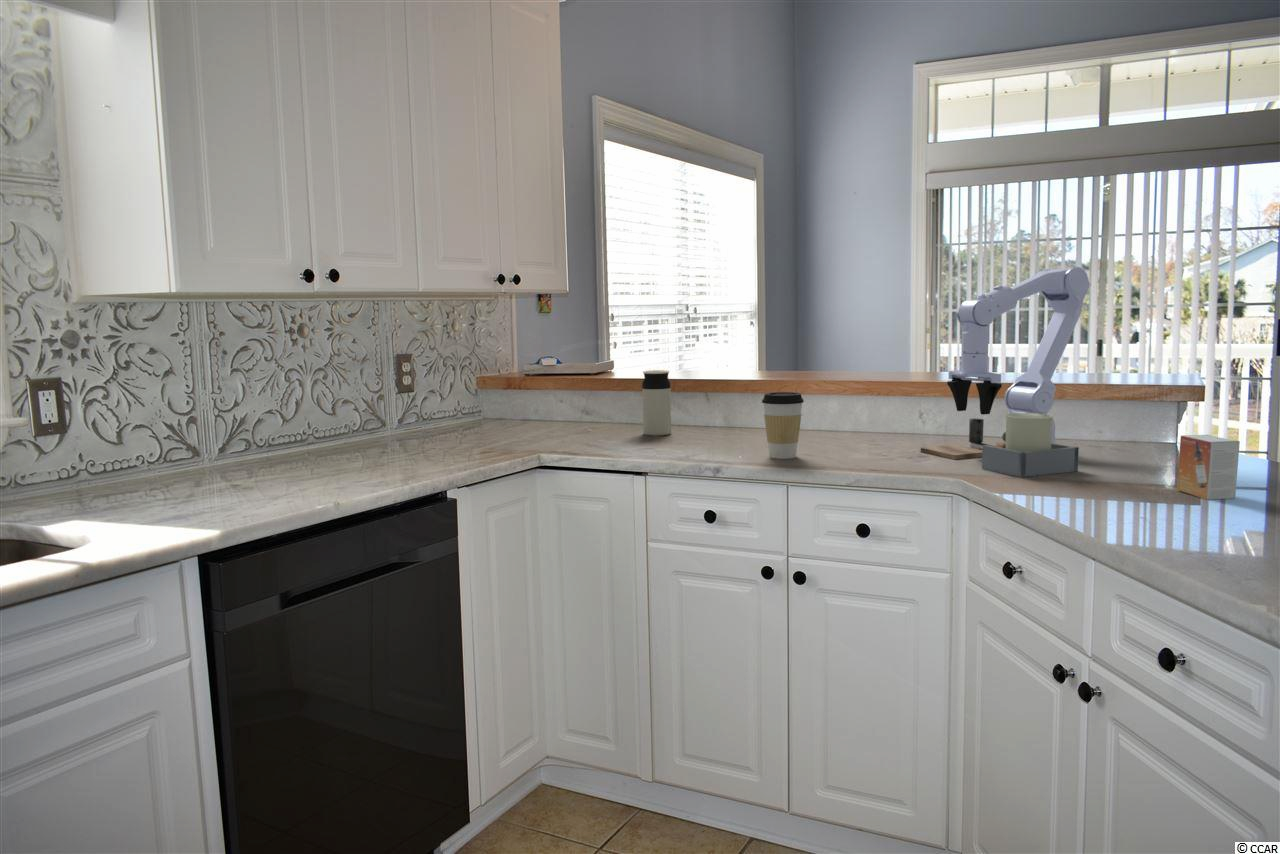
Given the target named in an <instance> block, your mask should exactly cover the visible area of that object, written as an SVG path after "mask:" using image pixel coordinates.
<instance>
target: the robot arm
mask: <svg viewBox="0 0 1280 854" xmlns="http://www.w3.org/2000/svg"><path fill="white" fill-rule="evenodd" d="M1090 286H1091V282H1090V280H1089V276H1088V273H1087V272H1086V270H1085V269H1084V268H1082V267H1080V266H1075V267H1074V266H1073V267H1067V268H1046V269H1044V270H1041V271H1038V272H1037V273H1035V275H1034V274H1033V275H1032V276H1031V277H1028V278H1027V279H1025V280H1023V281H1021V282H1019V283H1018V284H1015V285H1014V286H1012V287H1010V286H1008V285H1002V284H999V285H996V286H994V287H993V290H991V291H989V292H987V293H981V294H978V295H977V297H976V299H967V300H965V301H963V302H962V303H961V305H960V306H959V307H958V311H957V312H955V313H956V314H955V315H956V318H957V319H956V320H957V321H958V323H959V326H960V328H959V329H960V331H961V348H960V349H961V351H960V352H961V353H960V355H961V356H960V360H961V361H960V370H957V369H955V370H954V369H952V370H948V380H947V381H946V382H947V383H946V385H948V388H949V389H950V391H951V394H952V397H953V400H954V403H955V407H956V411H957V412H962V411H963V412H965V411H967V407H968V395H969V391H970V388H971V385H972V382H977V383H975V386H976V389H977V392H978V397H979V398H978V399H979V412H980V415H990V413H991V410H992V408H993V404H994V401H995V399H996V396H997V394H998V393H999V391H1000V390H1001V389H1002V386H1003V385H1002V373H995V372H989V368H988V367H989V339H990V338H989V337H990V335H989V334H990V333H989V332H990V325H991V324H992V323H993V322H994V320H995V319H996V318H997V317H999V316H1001V315H1003V314H1006V313H1007V312H1010V311H1012V310H1013V309H1015V308H1016V306H1017V305H1018V302H1019V301H1020V300H1023V299H1026V298H1028V297H1030V296H1032V295H1035V294H1038V293H1041V295H1042V296H1043V298H1044V299H1045V301H1046V302H1047V304H1048V305H1049V307H1051V308H1052V310H1053V314H1052V316H1051V319H1050V321H1049V323H1048V325H1047V327H1046V329H1045V331H1044V333H1043V336H1042V337H1041V341H1040V342H1039V344H1038V347H1037V349H1036V351H1035V353H1034V355H1033V357H1032V360H1031V362H1030V364H1029V366H1028V369H1027V370H1026V371H1025V372H1023V373H1022V374H1021V375H1019V376H1018V377H1016V378H1015V380H1014V382H1013V383H1012V385H1010V387H1008V388H1007V390H1006V391H1005V394H1004V404H1005V406H1006V408H1007V409H1009V414H1014V413H1036V414H1038V413H1039V414H1047V415H1049V414H1048V413H1049V412H1050V411H1051V409H1052V408H1053V404H1054V396H1055V393H1056V392H1057V387H1056V386H1055V384H1054V383H1053V381H1052V377H1053V376H1054V374H1055V371H1056V369H1057V367H1058V365H1059V363H1060V360H1061V359H1062V356H1063V353H1064V352H1065V349H1066V347H1067V345H1068V343H1069V340H1070V339H1071V336H1072V334H1073V332H1074V330H1075V327H1076V325H1077V323H1078V321H1079V319H1080V317H1081V314H1082V311H1083V306H1084V305H1083V304H1084V299H1085V297H1086V295H1087V294H1088V290H1089V288H1090ZM1055 441H1056V422H1055V419H1053V420H1052V436H1051V443H1055Z"/></svg>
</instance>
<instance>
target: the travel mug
mask: <svg viewBox="0 0 1280 854" xmlns="http://www.w3.org/2000/svg"><path fill="white" fill-rule="evenodd" d="M669 373H670V370H665V369H663V370H662V369H657V370H656V369H654V370H653V369H651V370H649V369H648V370H644V371H643V372H642V374H643V377H644V379H643V381H642V383H641V386H642V387H641V388H642V424H643V425H642V427H643V428H642V432H643V434H644V435H646V436H653V437H658V436H659V437H660V436H661V437H663V436H668V435H670V434H672V401H671V399H672V397H671V396H672V395H671V394H672V393H671V391H672V390H671V381H670V379H669Z"/></svg>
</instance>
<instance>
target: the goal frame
mask: <svg viewBox="0 0 1280 854" xmlns="http://www.w3.org/2000/svg"><path fill="white" fill-rule="evenodd" d="M1079 448H1080V447H1078V446H1073V445H1072V446H1071V445H1067V444H1062V443H1061V444H1060V443H1051V449H1049V450H1039V451H1029V452H1020V451H1015V450H1010V449H1004V448H999V447H994V446H988V445H983V449H982V457H981V458H982V459H981V460H982V461H981V469H982V468H983V470H987V469H988V471H991V470H992V472H996V473H999V474H1000V473H1001V474H1004V473H1005V475H1010V476H1013V475H1014V476H1015V477H1019V478H1026V477H1027V476H1029V477H1037V475H1038V476H1046V475H1054V474H1061V473H1062V474H1064V473H1071V472H1078V471H1079V470H1078V469H1079V454H1080V453H1079V452H1080V451H1079V450H1080V449H1079ZM1027 478H1028V477H1027Z"/></svg>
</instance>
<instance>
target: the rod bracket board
mask: <svg viewBox="0 0 1280 854" xmlns="http://www.w3.org/2000/svg"><path fill="white" fill-rule="evenodd" d="M920 452H921V453H923V454H924V453H925V454H928V455H934V456H937V457H942V458H947V459H951V460H960V459H961V460H962V459H973V458H982V450H979V449H974V448H971V447H970V446H969V447H968V446H963V445H958V444H947V445H946V444H945V445H936V446H935V445H934V446H927V447H920Z"/></svg>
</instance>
